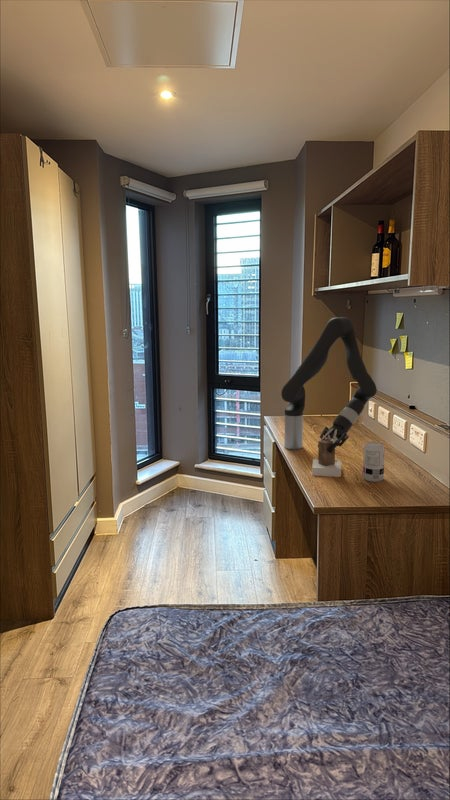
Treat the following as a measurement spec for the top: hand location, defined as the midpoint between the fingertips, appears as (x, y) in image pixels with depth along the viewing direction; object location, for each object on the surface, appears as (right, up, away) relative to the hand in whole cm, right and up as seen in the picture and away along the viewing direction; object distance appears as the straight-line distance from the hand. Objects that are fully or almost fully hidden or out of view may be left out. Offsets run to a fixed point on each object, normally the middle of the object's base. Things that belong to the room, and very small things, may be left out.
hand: (323, 449), depth 217 cm
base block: (+2, -10, +3) cm, 11 cm away
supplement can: (+19, -12, -8) cm, 24 cm away
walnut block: (+1, -6, +2) cm, 7 cm away
